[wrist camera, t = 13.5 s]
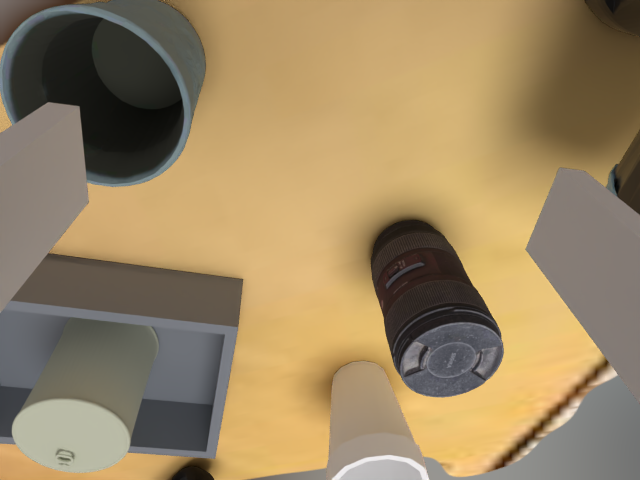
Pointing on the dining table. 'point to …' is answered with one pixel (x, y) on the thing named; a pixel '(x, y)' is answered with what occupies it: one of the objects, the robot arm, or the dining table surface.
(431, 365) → the camera lens
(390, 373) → the dining table surface
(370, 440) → the foam cup
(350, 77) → the dining table surface
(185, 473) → the controller
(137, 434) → the box
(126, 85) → the blue-grey textured cup
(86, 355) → the can
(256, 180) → the dining table surface
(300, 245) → the dining table surface
